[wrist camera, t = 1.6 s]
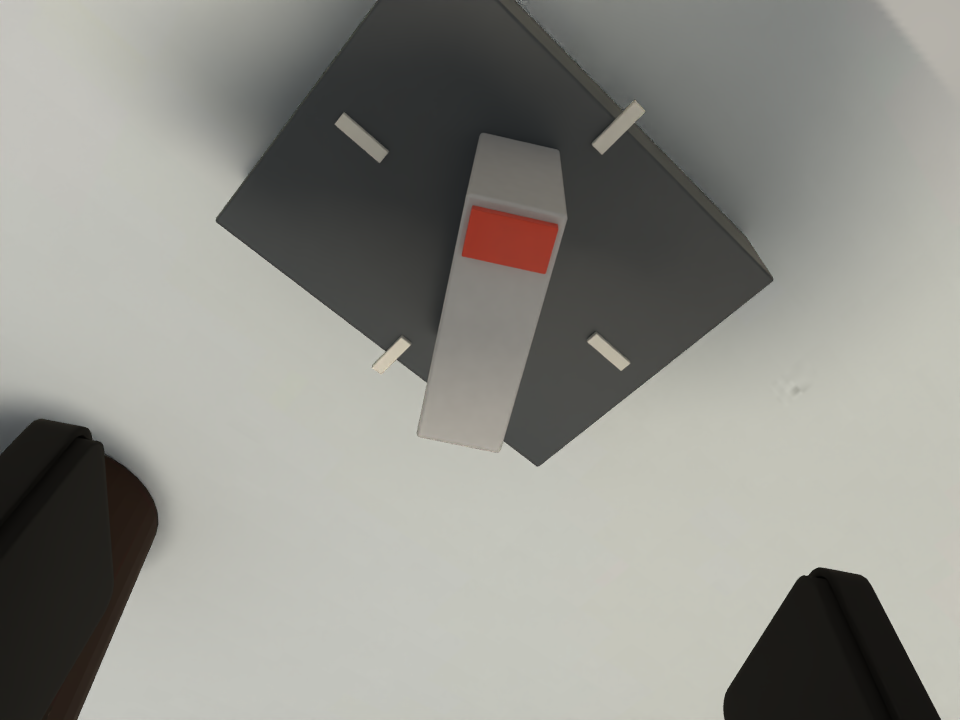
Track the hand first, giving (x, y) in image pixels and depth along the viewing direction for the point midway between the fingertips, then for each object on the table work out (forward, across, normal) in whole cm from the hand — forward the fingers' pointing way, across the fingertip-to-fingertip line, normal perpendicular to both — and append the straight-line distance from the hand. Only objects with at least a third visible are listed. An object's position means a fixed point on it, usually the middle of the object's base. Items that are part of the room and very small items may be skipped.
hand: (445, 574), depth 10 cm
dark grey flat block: (+14, 0, 0) cm, 14 cm away
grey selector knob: (+11, 0, 0) cm, 11 cm away
